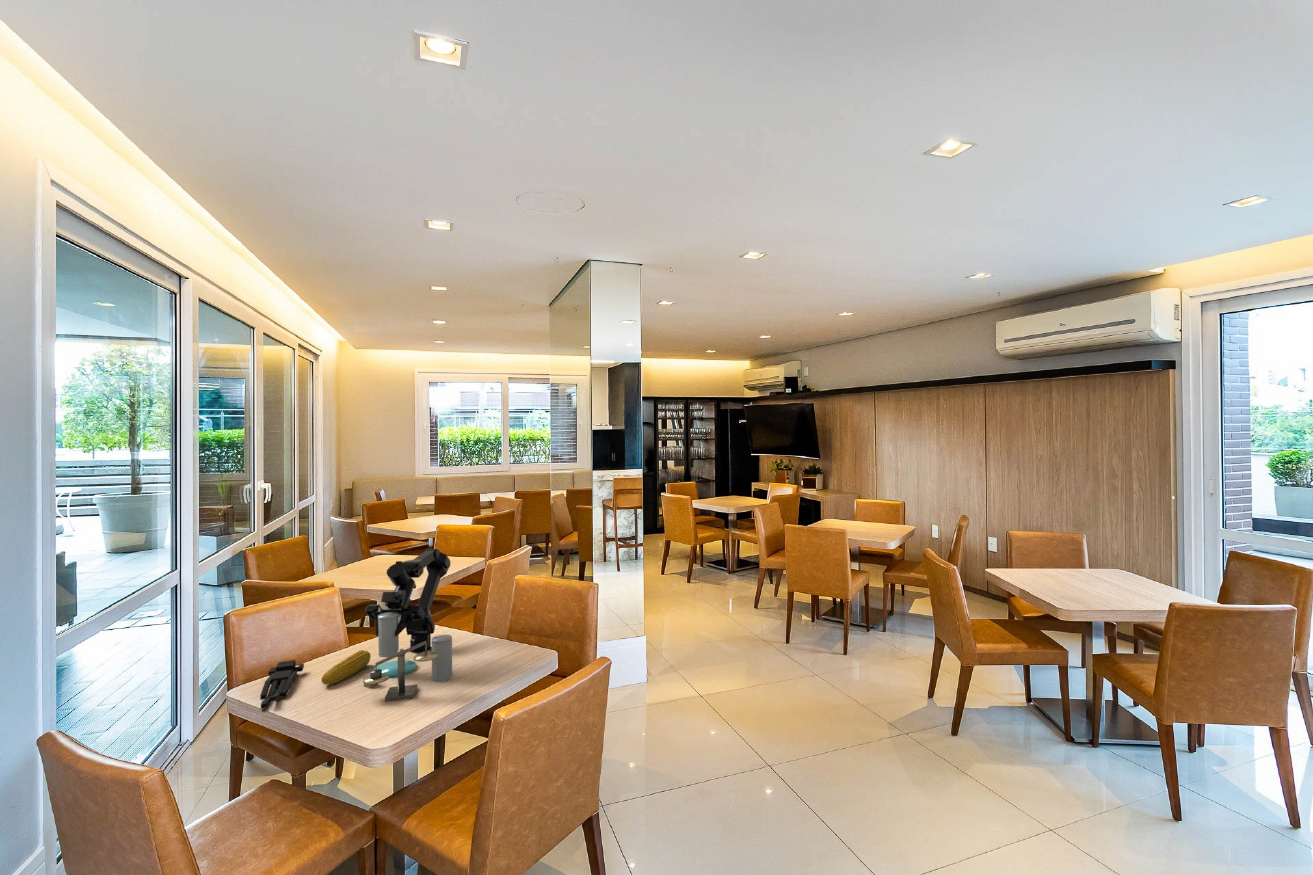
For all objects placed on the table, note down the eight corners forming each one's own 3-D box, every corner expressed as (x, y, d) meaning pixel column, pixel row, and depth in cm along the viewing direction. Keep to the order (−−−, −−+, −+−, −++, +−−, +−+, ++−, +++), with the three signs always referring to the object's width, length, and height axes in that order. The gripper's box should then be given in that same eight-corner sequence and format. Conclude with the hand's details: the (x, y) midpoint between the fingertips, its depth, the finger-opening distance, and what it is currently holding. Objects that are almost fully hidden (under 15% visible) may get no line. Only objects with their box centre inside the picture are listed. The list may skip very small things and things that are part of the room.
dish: (399, 661, 208) (399, 657, 208) (424, 667, 202) (423, 663, 202) (365, 673, 197) (365, 669, 197) (389, 680, 190) (389, 676, 190)
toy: (287, 710, 172) (303, 672, 199) (287, 694, 172) (303, 658, 199) (248, 717, 168) (271, 676, 196) (248, 700, 168) (270, 662, 196)
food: (358, 664, 206) (358, 647, 206) (373, 665, 205) (373, 647, 205) (316, 689, 185) (316, 669, 185) (333, 689, 184) (333, 670, 184)
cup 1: (391, 649, 200) (390, 611, 201) (402, 652, 197) (402, 613, 197) (374, 655, 195) (373, 615, 195) (386, 658, 192) (385, 618, 192)
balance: (439, 685, 185) (439, 636, 186) (436, 695, 178) (436, 644, 178) (366, 693, 180) (366, 642, 180) (360, 704, 172) (360, 651, 173)
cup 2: (443, 673, 196) (443, 633, 196) (456, 676, 193) (456, 636, 193) (427, 679, 191) (427, 638, 191) (440, 682, 187) (440, 641, 188)
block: (372, 683, 188) (372, 673, 189) (378, 685, 187) (378, 675, 187) (363, 686, 186) (363, 677, 186) (369, 688, 184) (369, 678, 184)
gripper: (367, 581, 201) (348, 623, 190) (420, 580, 200) (405, 623, 189) (379, 598, 209) (362, 639, 198) (431, 598, 207) (417, 640, 196)
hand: (386, 635), depth 195 cm, fingers closed on cup 1, 6 cm apart
